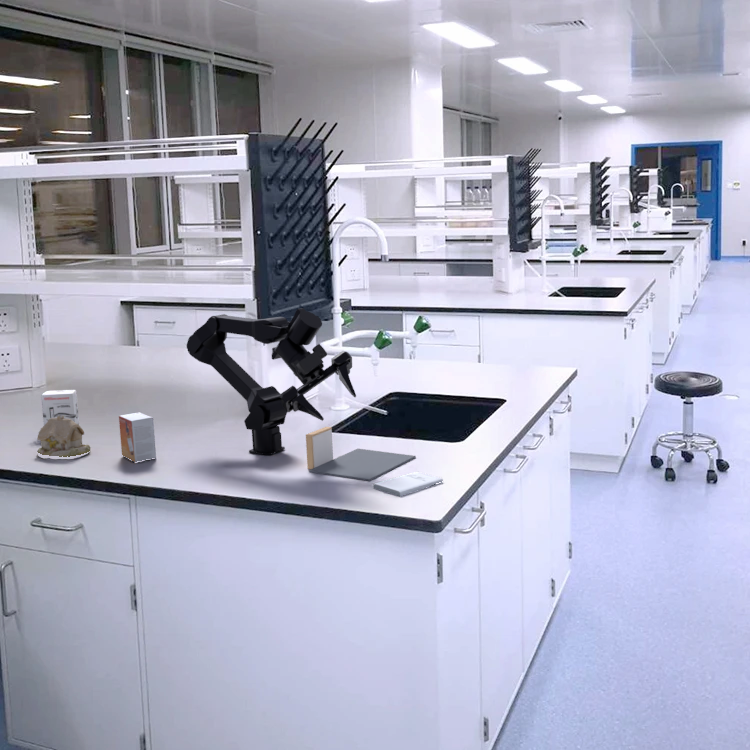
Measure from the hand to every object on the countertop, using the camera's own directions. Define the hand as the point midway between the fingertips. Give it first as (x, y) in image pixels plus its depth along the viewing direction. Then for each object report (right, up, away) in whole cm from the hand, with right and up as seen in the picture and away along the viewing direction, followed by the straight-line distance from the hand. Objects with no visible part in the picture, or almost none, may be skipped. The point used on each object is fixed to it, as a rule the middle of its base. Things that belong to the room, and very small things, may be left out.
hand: (339, 407), depth 202 cm
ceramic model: (-70, -13, +22) cm, 74 cm away
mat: (+5, -13, +2) cm, 14 cm away
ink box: (-77, -9, +43) cm, 89 cm away
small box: (-49, -13, +15) cm, 53 cm away
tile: (-4, -13, +3) cm, 14 cm away
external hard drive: (+15, -16, -14) cm, 26 cm away
